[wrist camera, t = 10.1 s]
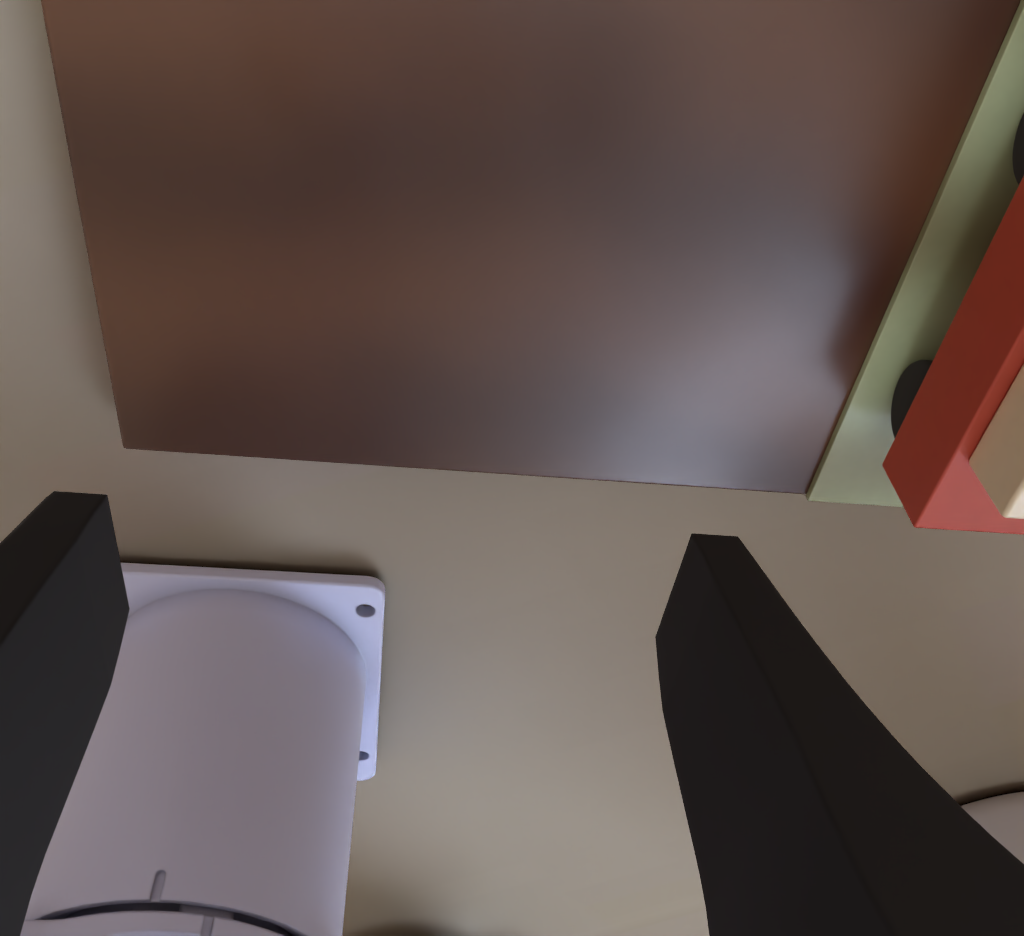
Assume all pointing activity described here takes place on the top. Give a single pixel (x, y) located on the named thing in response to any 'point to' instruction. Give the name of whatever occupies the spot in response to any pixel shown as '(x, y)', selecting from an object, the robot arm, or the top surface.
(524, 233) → the board
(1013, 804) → the cylinder vase
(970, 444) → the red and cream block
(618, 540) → the top surface
